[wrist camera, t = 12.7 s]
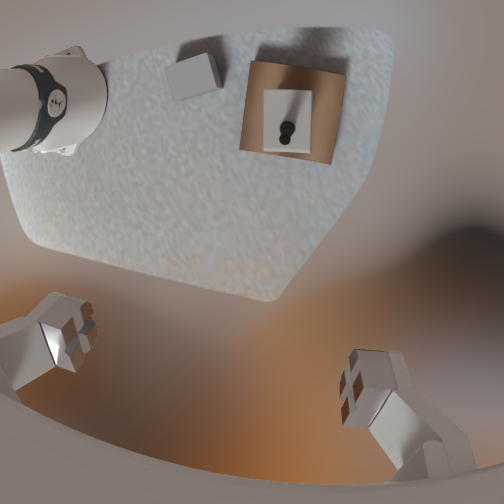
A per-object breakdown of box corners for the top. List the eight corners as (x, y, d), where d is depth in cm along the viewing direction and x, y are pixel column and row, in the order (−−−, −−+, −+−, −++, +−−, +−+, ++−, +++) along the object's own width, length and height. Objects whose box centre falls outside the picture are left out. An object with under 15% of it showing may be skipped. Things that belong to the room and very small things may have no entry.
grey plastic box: (183, 101, 41) (173, 101, 38) (174, 69, 39) (164, 67, 36) (223, 88, 40) (216, 87, 36) (214, 56, 38) (206, 52, 34)
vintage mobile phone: (304, 96, 36) (323, 83, 14) (303, 134, 39) (319, 177, 16) (274, 95, 37) (248, 81, 14) (274, 133, 39) (248, 174, 17)
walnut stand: (242, 146, 43) (239, 149, 40) (253, 63, 38) (250, 60, 35) (328, 160, 42) (331, 164, 40) (342, 77, 37) (346, 75, 34)
